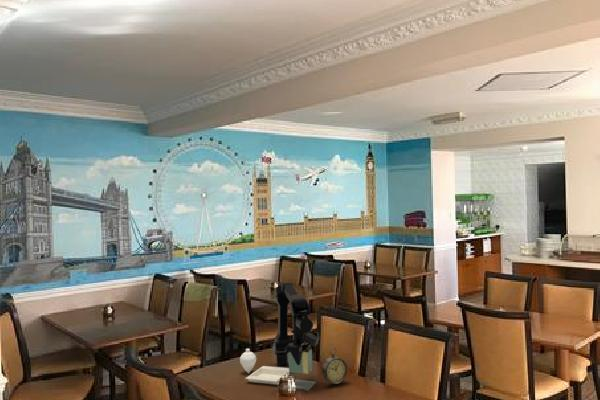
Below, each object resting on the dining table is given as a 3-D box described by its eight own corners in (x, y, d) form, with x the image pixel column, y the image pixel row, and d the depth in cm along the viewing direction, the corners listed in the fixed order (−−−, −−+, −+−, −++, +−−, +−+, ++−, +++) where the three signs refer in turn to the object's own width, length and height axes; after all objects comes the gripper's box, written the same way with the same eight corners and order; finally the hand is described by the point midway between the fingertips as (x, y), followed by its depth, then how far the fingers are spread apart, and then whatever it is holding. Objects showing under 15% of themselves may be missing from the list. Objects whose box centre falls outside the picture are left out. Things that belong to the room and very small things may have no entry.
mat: (295, 380, 223) (295, 379, 223) (316, 382, 219) (316, 381, 219) (286, 388, 214) (286, 387, 214) (308, 390, 210) (308, 389, 210)
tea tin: (293, 368, 221) (292, 347, 221) (312, 369, 218) (311, 349, 218) (289, 371, 216) (288, 350, 216) (308, 373, 213) (307, 352, 213)
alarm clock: (326, 389, 211) (325, 350, 212) (320, 385, 216) (319, 347, 216) (348, 384, 216) (347, 346, 217) (341, 380, 221) (340, 343, 221)
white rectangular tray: (263, 372, 236) (263, 365, 237) (292, 374, 231) (292, 368, 231) (245, 385, 220) (245, 378, 220) (276, 388, 214) (276, 381, 214)
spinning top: (237, 375, 234) (236, 349, 234) (249, 370, 239) (248, 345, 239) (247, 378, 228) (246, 352, 229) (260, 374, 234) (259, 348, 234)
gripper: (309, 333, 205) (310, 371, 205) (323, 323, 223) (324, 358, 223) (284, 332, 209) (285, 369, 209) (300, 322, 227) (301, 356, 227)
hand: (300, 363), depth 217 cm, fingers closed on tea tin, 5 cm apart
